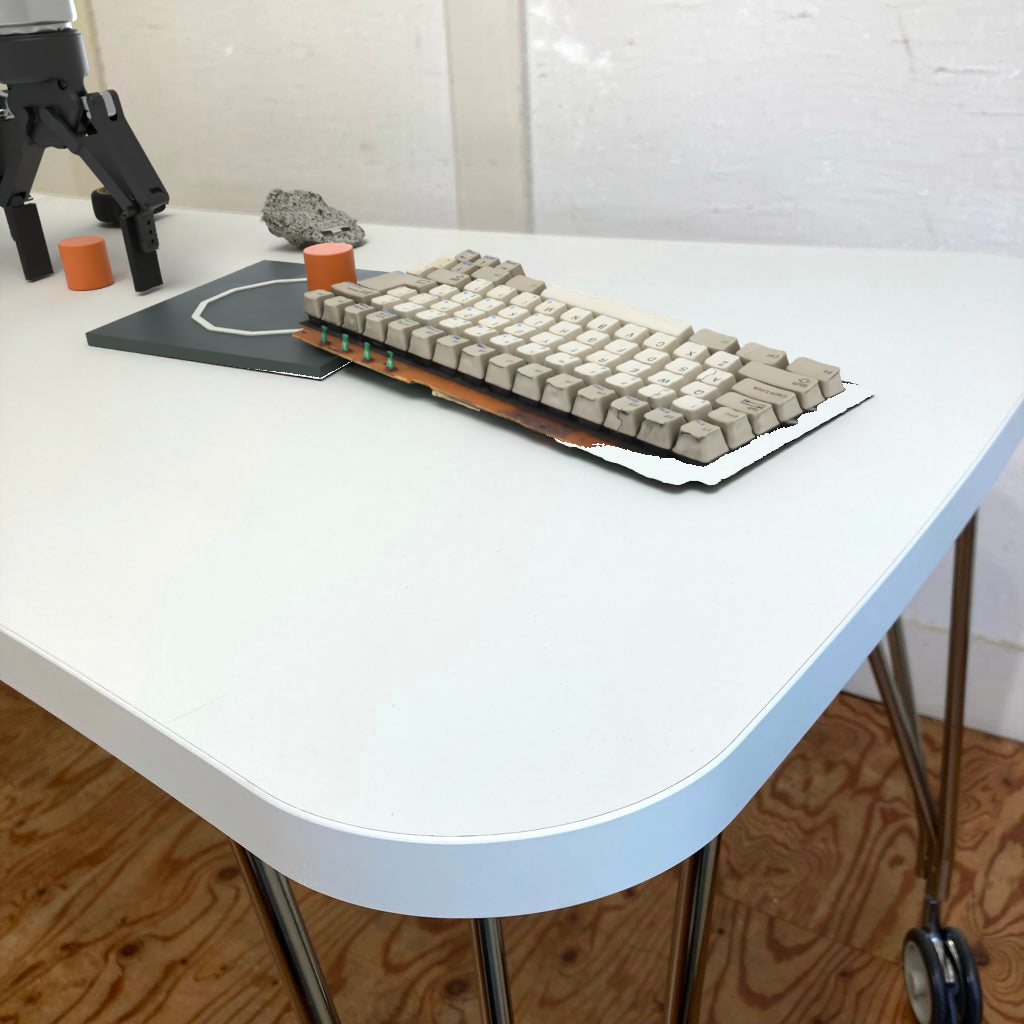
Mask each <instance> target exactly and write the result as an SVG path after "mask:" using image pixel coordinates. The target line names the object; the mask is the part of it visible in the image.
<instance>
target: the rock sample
mask: <svg viewBox="0 0 1024 1024" xmlns="http://www.w3.org/2000/svg"><path fill="white" fill-rule="evenodd" d="M277 184H279V183H277ZM280 187H281V188H282V185H281V186H280ZM281 188H277V187H273V188H271V190H270V191H269V193H268V195H266V197H265V201H264V204H263V207H262V209H261V211H260V214H261V213H262V215H259V217H260V220H259V222H260V223H265V226H266V227H267V229H268V232H269V233H270V234H272V235H274V236H275V237H276V238H281V239H282V238H283V239H285V240H286V241H287V242H288V243H289V244H290V245H292V246H293V247H297V248H302V247H304V246H307V245H317V244H322V243H346V244H350V245H352V246H353V247H356V246H357V245H358V244H359V243H360V242H361V241H362V240H363V239H364V238H365V237H366V232H365V230H364V228H363V227H362V226H361V225H359V224H358V220H357V219H356V218H354V217H351V216H350V215H348V214H347V213H346V212H345V211H343V210H340V209H338V208H335V207H333V206H330V205H328V204H327V202H326V201H325V199H324V198H323V197H322V195H321V194H320V193H315V192H313V191H311V190H310V191H309V190H303V189H294V190H288V191H284V189H281ZM361 223H363V222H362V221H361Z"/></svg>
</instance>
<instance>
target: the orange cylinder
mask: <svg viewBox="0 0 1024 1024" xmlns="http://www.w3.org/2000/svg"><path fill="white" fill-rule="evenodd" d="M57 247H58V251H59V256H60V260H61V264H62V267H63V272H64V275H65V280H66V282H67V283H66V284H67V288H68V289H70V290H73V291H92V290H98V289H101V288H105V287H108V286H110V285H112V284H114V282H115V279H114V275H113V271H112V266H111V261H110V257H109V253H108V252H109V251H108V248H107V244H106V239H105V237H104V236H101V235H80V236H74V237H69V238H65V239H62V240H61V241H58V243H57Z"/></svg>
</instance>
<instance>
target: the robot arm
mask: <svg viewBox="0 0 1024 1024" xmlns="http://www.w3.org/2000/svg"><path fill="white" fill-rule="evenodd" d="M77 18H78V14H77V10H76V5H75V1H74V0H0V84H1V85H6V88H7V89H6V88H5V89H0V207H1V208H2V209H3V212H4V215H5V219H6V223H7V225H8V229H9V233H10V236H11V239H12V241H13V242H14V243H15V247H16V250H17V253H18V257H19V261H20V264H21V268H22V271H23V276H24V280H25V281H35V280H37V279H40V278H43V277H47V276H49V275H51V274H54V267H53V264H52V260H51V256H50V253H49V249H48V245H47V240H46V237H45V234H44V233H45V232H44V229H43V225H42V221H41V217H40V214H39V210H38V206H37V203H36V202H31V201H34V199H35V198H34V197H32V195H31V191H32V188H33V185H34V182H35V179H36V177H37V173H38V170H39V168H40V165H41V162H42V159H43V157H44V154H45V151H46V149H50V148H54V149H57V150H66V149H68V151H69V152H70V153H71V154H73V155H76V156H78V157H79V158H80V159H81V160H82V161H83V162H84V164H85V165H86V166H87V168H88V169H89V170H90V171H91V172H92V174H93V175H94V176H95V177H96V178H97V180H98V181H99V182H100V183H101V185H102V187H105V188H106V189H107V190H108V192H109V193H110V194H111V195H112V197H113V198H114V199H115V200H116V201H117V203H118V204H119V205H120V206H121V208H122V209H123V210H124V211H123V212H122V215H120V216H121V217H119V221H120V223H119V225H120V229H121V234H122V238H123V243H124V248H125V252H126V256H127V261H128V265H129V269H130V274H131V279H132V283H133V287H134V291H135V292H136V293H144V292H147V291H149V290H152V289H155V288H157V287H159V286H162V285H164V280H163V275H162V270H161V265H160V261H159V257H158V252H157V250H159V249H160V248H159V247H160V241H159V237H158V232H157V227H156V223H155V217H154V215H153V212H154V209H155V208H157V207H159V206H161V205H163V204H166V203H168V202H169V203H170V194H169V192H168V190H167V188H166V187H165V185H164V183H163V182H162V180H161V178H160V176H159V175H158V173H157V171H156V169H155V167H154V165H153V164H152V162H151V161H150V159H149V157H148V155H147V153H146V152H145V150H144V148H143V147H142V145H141V143H140V141H139V139H138V138H137V135H135V132H134V130H133V129H132V127H131V126H130V124H129V122H128V120H127V117H126V116H125V112H124V109H123V107H122V103H121V100H120V96H119V93H118V92H117V91H116V90H115V89H112V88H110V89H105V90H99V91H94V92H89V91H88V89H87V88H86V84H85V78H86V77H87V76H88V74H89V73H90V65H89V61H88V57H87V52H86V48H85V45H84V44H85V43H84V38H83V34H82V32H79V29H77V28H73V27H72V22H76V20H77ZM149 190H151V193H149ZM132 198H134V200H133V199H132ZM28 202H29V203H28ZM166 205H167V204H166Z"/></svg>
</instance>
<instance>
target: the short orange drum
mask: <svg viewBox="0 0 1024 1024" xmlns="http://www.w3.org/2000/svg"><path fill="white" fill-rule="evenodd" d="M302 255H303V262H304V263H303V264H305V270H306V277H307V284H308V292H311V291H315V290H325V291H327V292H331V286H332V285H334V284H339V283H342V282H351V283H353V284H356V285H357V276H356V269H357V268H356V259H355V250H354V246H352V245H350V244H346V243H322V244H312V245H309V246H307V247H305V248H304V249H303V251H302Z"/></svg>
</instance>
